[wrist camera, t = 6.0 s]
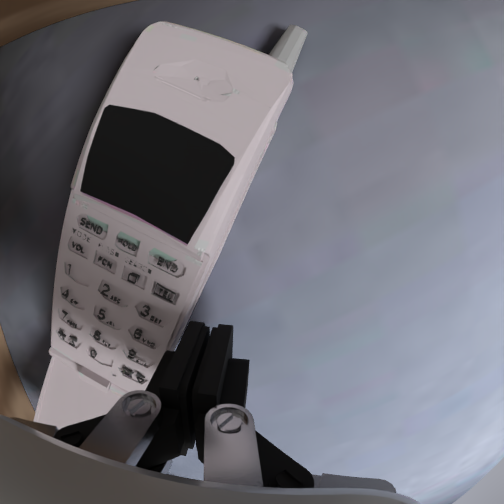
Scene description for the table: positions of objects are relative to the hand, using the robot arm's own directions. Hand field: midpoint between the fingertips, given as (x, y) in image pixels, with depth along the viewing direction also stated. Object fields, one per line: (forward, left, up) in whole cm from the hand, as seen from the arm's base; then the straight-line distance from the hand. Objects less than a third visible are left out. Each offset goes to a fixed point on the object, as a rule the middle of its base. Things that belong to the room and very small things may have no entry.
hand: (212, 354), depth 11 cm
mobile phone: (-2, -4, -2) cm, 5 cm away
